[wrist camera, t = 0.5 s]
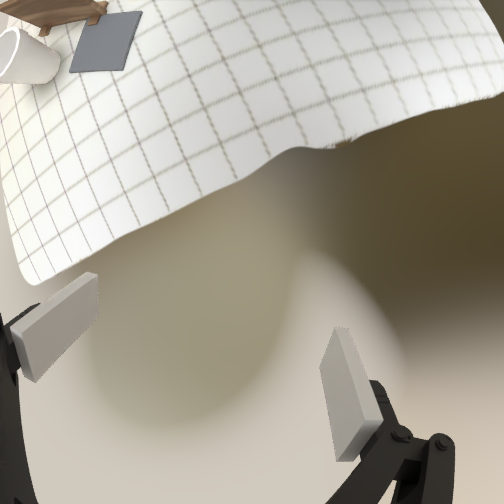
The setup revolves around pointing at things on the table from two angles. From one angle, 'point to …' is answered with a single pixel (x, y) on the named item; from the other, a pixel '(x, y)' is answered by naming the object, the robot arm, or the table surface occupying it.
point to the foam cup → (26, 59)
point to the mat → (105, 43)
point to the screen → (54, 12)
